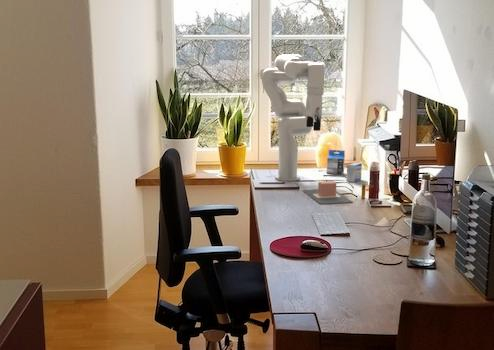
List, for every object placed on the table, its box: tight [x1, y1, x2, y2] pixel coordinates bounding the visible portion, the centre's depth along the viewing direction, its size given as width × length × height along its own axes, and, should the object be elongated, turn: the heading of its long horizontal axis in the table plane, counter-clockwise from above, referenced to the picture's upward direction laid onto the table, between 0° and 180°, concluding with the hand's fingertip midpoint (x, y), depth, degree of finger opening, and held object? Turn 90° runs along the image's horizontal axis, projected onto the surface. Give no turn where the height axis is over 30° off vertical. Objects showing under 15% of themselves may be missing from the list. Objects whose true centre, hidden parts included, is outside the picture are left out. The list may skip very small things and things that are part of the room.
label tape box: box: [326, 149, 346, 175], centre depth 306 cm, size 9×4×12 cm, turn 73°
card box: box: [317, 180, 337, 197], centre depth 258 cm, size 7×4×6 cm, turn 103°
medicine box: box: [346, 162, 363, 183], centre depth 290 cm, size 8×4×9 cm, turn 143°
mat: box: [302, 188, 354, 205], centre depth 259 cm, size 24×15×1 cm, turn 13°
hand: (313, 128), depth 264 cm, fingers open, 9 cm apart
